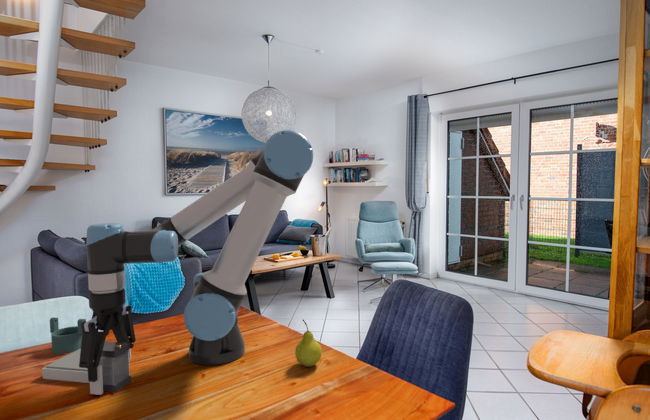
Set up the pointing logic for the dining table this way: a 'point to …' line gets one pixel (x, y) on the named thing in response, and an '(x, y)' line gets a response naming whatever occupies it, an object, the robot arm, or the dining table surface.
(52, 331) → the bracket
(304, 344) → the fruit
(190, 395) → the dining table surface
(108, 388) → the housing
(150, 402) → the dining table surface
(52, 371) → the stand
